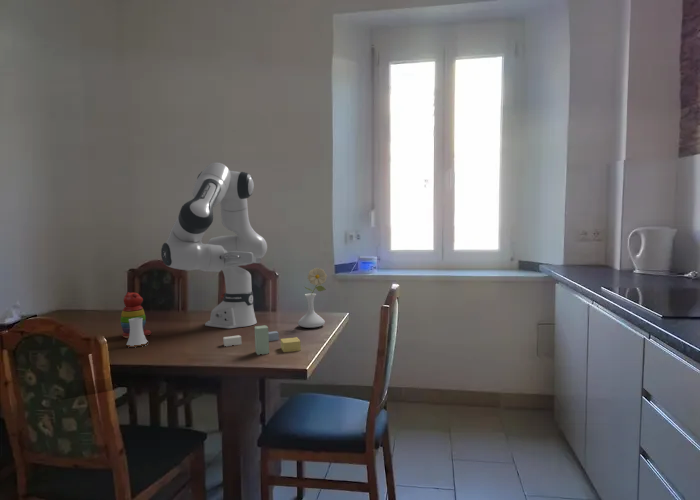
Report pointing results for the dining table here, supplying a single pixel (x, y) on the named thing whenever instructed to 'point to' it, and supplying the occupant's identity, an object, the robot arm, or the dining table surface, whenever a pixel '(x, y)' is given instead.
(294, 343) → the mustard brick
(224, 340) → the cream brick
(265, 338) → the green brick
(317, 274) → the flower in vase
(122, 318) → the stacking bear
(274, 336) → the slate brick
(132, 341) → the vase
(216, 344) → the dining table surface
